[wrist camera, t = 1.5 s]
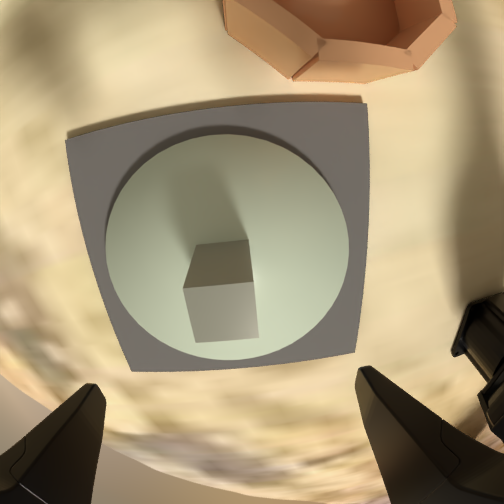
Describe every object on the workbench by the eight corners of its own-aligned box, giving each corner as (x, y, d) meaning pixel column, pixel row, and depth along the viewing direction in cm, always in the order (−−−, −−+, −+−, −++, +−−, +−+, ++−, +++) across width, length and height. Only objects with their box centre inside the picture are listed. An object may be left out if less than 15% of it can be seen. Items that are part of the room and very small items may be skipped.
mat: (352, 348, 22) (354, 352, 22) (133, 367, 22) (131, 371, 21) (363, 104, 15) (366, 103, 15) (69, 139, 15) (65, 139, 14)
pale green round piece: (338, 341, 21) (362, 395, 16) (142, 358, 21) (125, 414, 16) (344, 127, 15) (392, 128, 10) (88, 158, 15) (33, 173, 10)
